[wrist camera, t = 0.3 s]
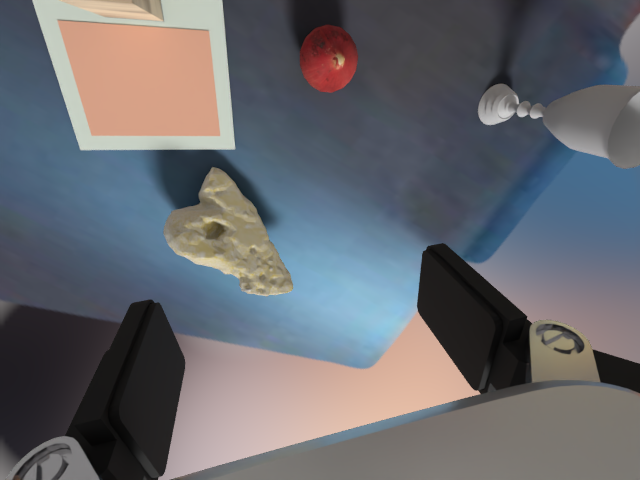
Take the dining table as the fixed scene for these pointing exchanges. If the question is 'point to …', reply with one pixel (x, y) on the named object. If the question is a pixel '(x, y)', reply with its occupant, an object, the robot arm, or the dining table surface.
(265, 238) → the beige rock
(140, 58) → the mat
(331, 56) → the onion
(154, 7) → the maple block
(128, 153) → the dining table surface
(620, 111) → the chalice
